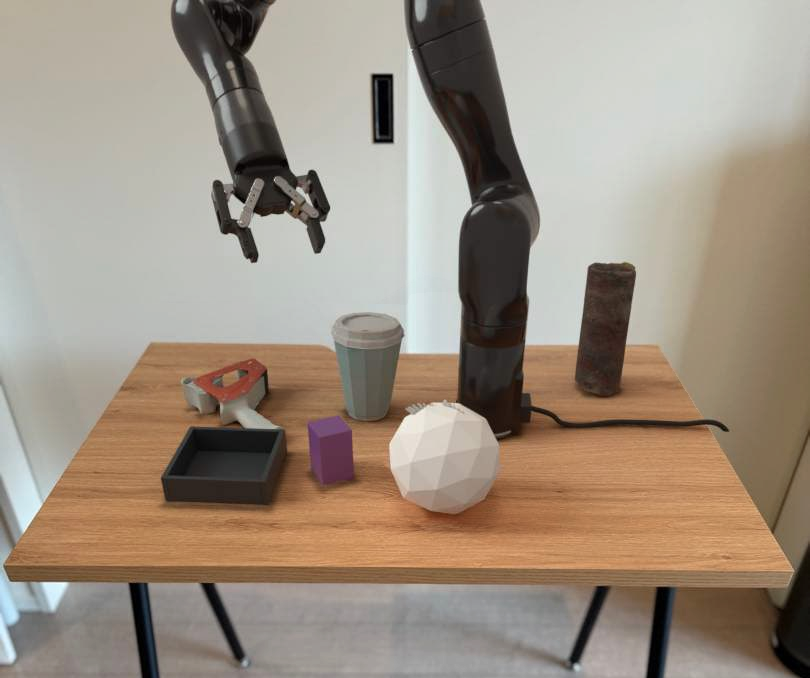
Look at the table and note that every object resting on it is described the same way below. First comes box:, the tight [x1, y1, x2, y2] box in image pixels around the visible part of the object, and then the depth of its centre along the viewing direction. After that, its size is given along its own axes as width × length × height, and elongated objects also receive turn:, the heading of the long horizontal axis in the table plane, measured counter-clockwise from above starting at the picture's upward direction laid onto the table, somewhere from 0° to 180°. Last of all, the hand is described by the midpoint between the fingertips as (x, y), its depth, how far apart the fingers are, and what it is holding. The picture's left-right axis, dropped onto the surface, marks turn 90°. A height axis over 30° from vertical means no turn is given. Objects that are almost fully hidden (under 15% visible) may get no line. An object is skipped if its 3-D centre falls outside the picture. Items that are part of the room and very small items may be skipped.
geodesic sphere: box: [388, 399, 501, 515], centre depth 100 cm, size 15×14×14 cm
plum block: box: [307, 414, 355, 486], centre depth 106 cm, size 4×4×8 cm
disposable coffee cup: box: [330, 311, 405, 422], centre depth 119 cm, size 11×11×15 cm
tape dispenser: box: [180, 357, 284, 429], centre depth 121 cm, size 18×5×20 cm
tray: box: [160, 425, 288, 506], centre depth 107 cm, size 13×13×4 cm
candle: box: [574, 261, 637, 397], centre depth 125 cm, size 8×7×20 cm
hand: (287, 255), depth 101 cm, fingers open, 8 cm apart
